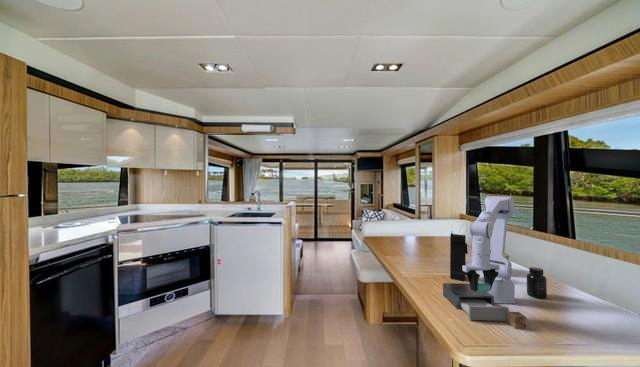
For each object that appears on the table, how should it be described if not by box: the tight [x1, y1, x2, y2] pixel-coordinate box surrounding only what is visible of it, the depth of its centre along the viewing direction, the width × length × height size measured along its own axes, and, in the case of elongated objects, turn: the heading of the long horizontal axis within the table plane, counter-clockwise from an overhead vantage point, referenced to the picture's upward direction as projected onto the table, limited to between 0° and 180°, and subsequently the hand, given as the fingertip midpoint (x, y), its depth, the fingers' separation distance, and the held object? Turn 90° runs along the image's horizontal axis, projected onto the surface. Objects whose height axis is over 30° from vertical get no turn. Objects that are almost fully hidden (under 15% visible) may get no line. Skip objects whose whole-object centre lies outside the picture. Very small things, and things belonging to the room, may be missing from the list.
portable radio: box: [449, 232, 469, 282], centre depth 137 cm, size 8×6×25 cm
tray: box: [459, 299, 509, 322], centre depth 99 cm, size 13×13×5 cm
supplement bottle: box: [526, 266, 548, 300], centre depth 115 cm, size 7×7×12 cm
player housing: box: [442, 282, 495, 310], centre depth 109 cm, size 14×13×5 cm
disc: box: [477, 280, 490, 292], centre depth 98 cm, size 6×6×2 cm
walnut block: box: [507, 311, 527, 330], centre depth 90 cm, size 4×4×4 cm
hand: (480, 289), depth 98 cm, fingers closed on disc, 6 cm apart
